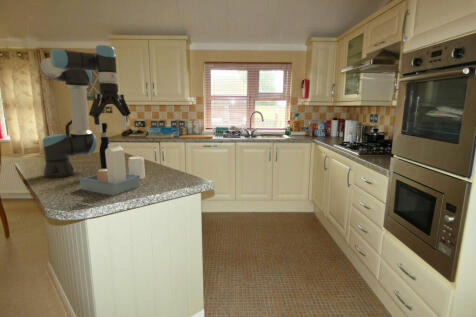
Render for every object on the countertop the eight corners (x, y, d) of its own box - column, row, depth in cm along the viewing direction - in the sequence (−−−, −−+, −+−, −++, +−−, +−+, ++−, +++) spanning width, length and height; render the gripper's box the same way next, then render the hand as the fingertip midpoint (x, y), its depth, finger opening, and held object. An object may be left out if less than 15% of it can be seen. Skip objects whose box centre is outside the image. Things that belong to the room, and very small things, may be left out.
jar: (94, 186, 133) (94, 170, 131) (101, 183, 139) (100, 168, 137) (107, 186, 133) (106, 171, 131) (112, 183, 139) (112, 168, 137)
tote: (79, 190, 130) (78, 178, 129) (109, 181, 144) (108, 170, 143) (113, 197, 120) (111, 183, 119) (140, 187, 135) (139, 175, 134)
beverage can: (140, 181, 145) (138, 159, 143) (126, 180, 147) (124, 158, 145) (147, 177, 153) (146, 156, 151) (135, 176, 155) (133, 155, 152)
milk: (108, 189, 129) (103, 143, 125) (120, 186, 134) (116, 142, 130) (116, 191, 126) (111, 144, 122) (127, 188, 131) (123, 142, 127)
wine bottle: (106, 176, 154) (101, 123, 148) (99, 175, 157) (94, 123, 152) (116, 174, 159) (111, 123, 154) (109, 173, 163) (105, 122, 157)
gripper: (88, 80, 108) (93, 133, 112) (136, 84, 130) (139, 128, 134) (76, 81, 111) (81, 132, 115) (124, 85, 133) (128, 128, 137)
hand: (112, 130), depth 125 cm, fingers open, 13 cm apart
